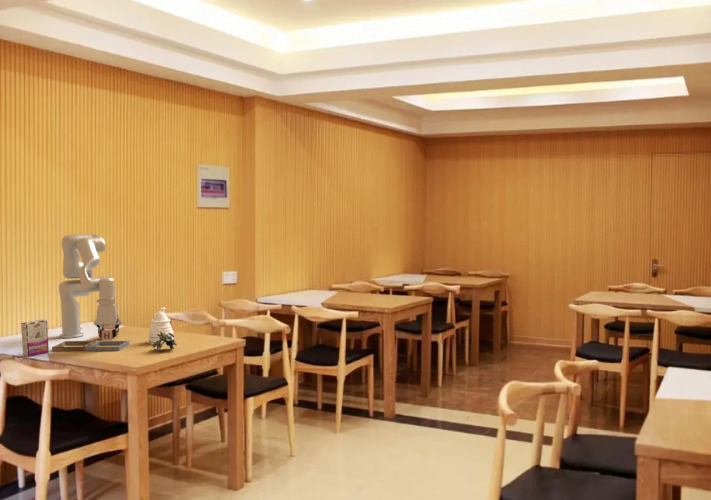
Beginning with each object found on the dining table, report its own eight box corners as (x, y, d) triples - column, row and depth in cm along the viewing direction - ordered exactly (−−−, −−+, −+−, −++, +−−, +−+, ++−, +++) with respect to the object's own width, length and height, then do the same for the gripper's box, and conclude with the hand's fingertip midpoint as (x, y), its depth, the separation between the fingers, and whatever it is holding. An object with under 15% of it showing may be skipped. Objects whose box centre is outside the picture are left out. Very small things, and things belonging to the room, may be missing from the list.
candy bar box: (43, 351, 341) (41, 319, 340) (49, 352, 338) (47, 320, 337) (21, 355, 331) (20, 322, 330) (28, 356, 328) (26, 323, 327)
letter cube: (105, 338, 351) (105, 329, 350) (115, 338, 351) (114, 329, 351) (101, 340, 346) (101, 330, 345) (111, 340, 346) (111, 330, 345)
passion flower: (171, 360, 343) (182, 341, 340) (154, 360, 334) (165, 341, 331) (160, 345, 349) (171, 327, 346) (143, 345, 340) (155, 326, 337)
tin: (101, 340, 369) (101, 325, 368) (97, 340, 370) (96, 325, 369) (119, 335, 383) (119, 320, 383) (115, 335, 384) (114, 320, 384)
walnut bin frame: (65, 344, 357) (65, 341, 357) (95, 344, 358) (95, 340, 357) (52, 351, 341) (51, 347, 341) (83, 350, 342) (83, 346, 342)
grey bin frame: (98, 344, 357) (98, 341, 356) (129, 344, 357) (129, 340, 357) (87, 351, 341) (87, 347, 341) (119, 350, 341) (118, 346, 341)
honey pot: (163, 338, 372) (162, 306, 371) (178, 341, 364) (177, 308, 363) (143, 342, 361) (142, 309, 360) (159, 345, 354) (158, 311, 353)
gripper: (87, 303, 343) (89, 339, 344) (121, 302, 344) (122, 338, 345) (93, 301, 351) (94, 336, 352) (126, 300, 351) (127, 335, 352)
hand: (108, 337), depth 348 cm, fingers closed on letter cube, 5 cm apart
